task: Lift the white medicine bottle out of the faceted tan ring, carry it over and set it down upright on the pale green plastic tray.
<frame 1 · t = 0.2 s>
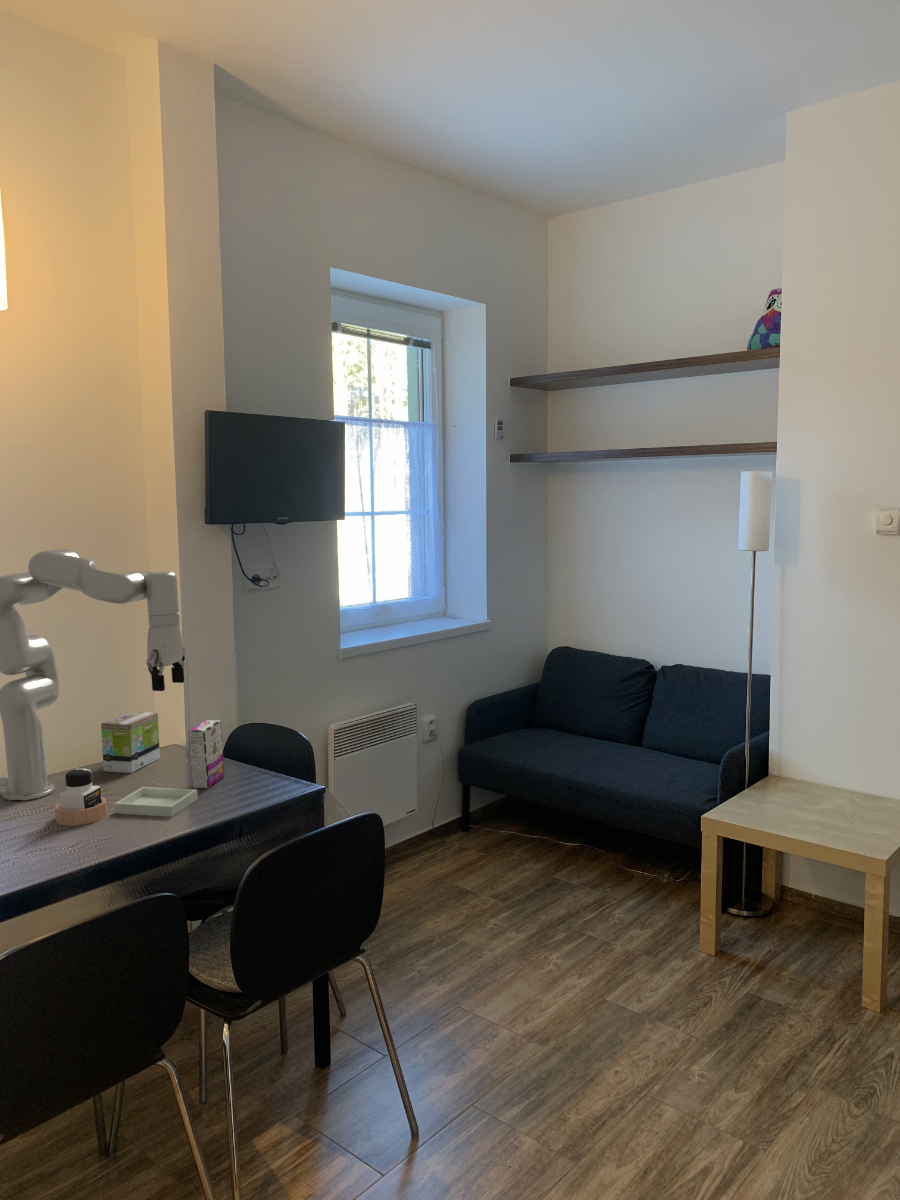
hand: (168, 686, 232), 31 cm above the table, tool pointing down, fingers open, 9 cm apart
faceted tan ring: (81, 816, 227), on the table
candy bar box: (208, 783, 252), on the table
medicine bottle: (81, 817, 227), resting in faceted tan ring
tea box: (132, 765, 270), on the table
tray: (157, 806, 233), on the table
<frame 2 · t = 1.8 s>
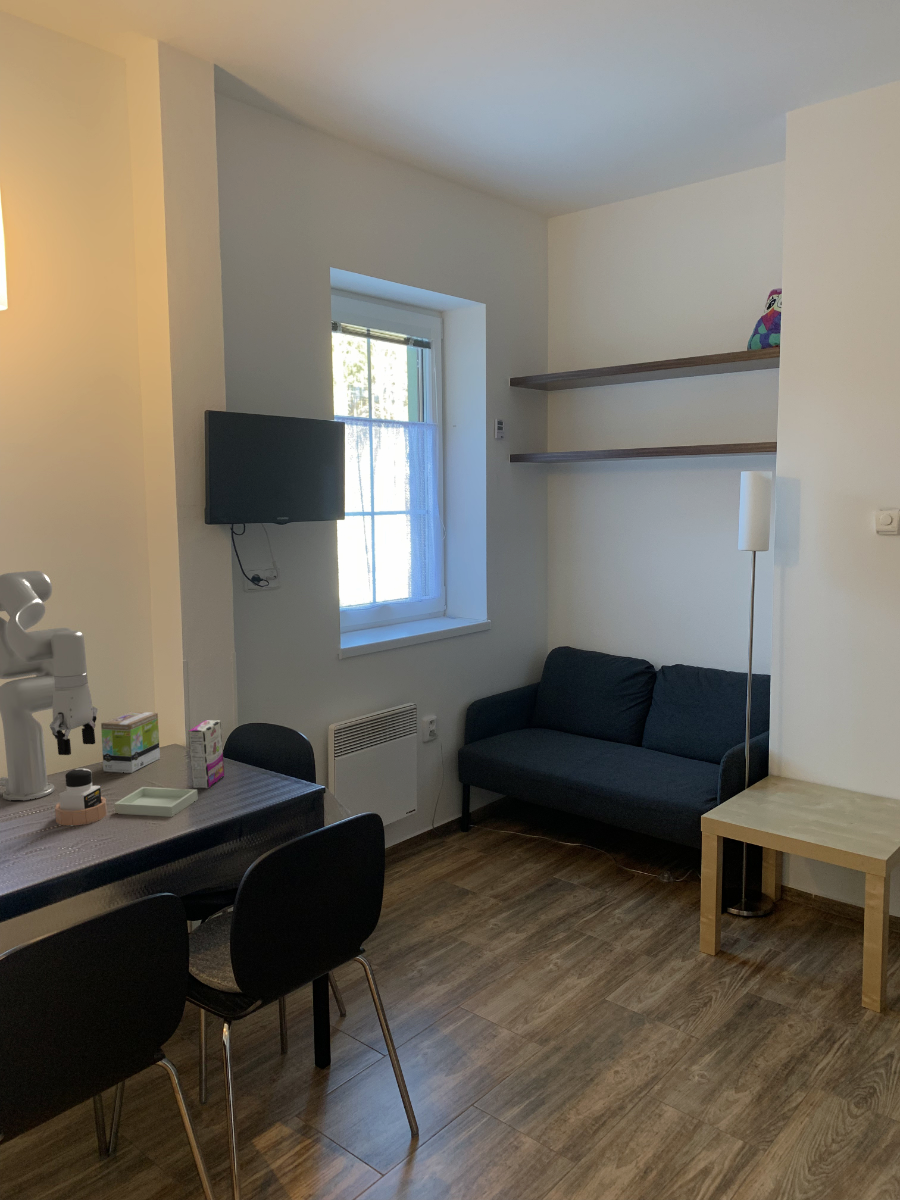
hand: (77, 749, 225), 18 cm above the table, tool pointing down, fingers open, 9 cm apart
nothing on the table moved.
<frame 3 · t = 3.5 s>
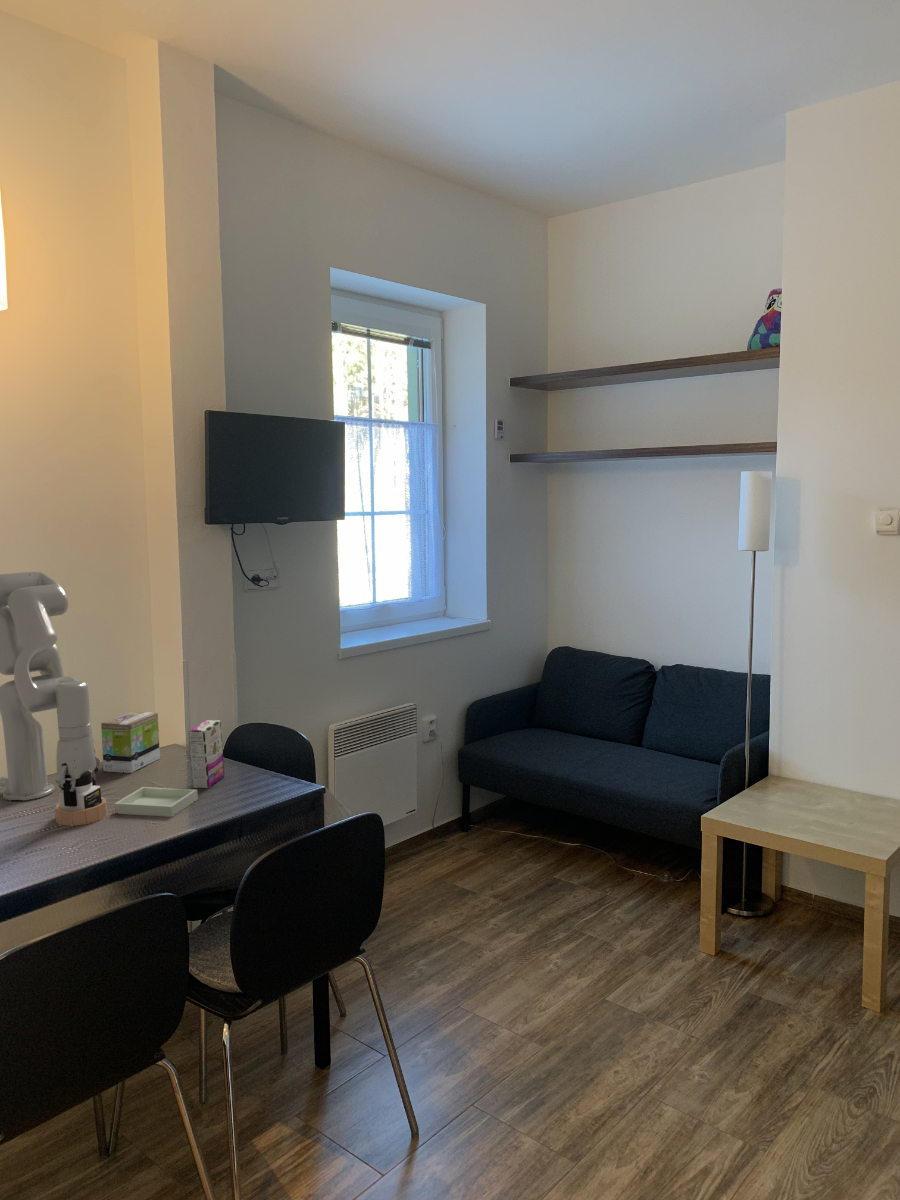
hand: (80, 800, 226), 4 cm above the table, tool pointing down, fingers closed on medicine bottle, 7 cm apart
medicine bottle: (82, 817, 227), resting in faceted tan ring, touching gripper
everything else where it was.
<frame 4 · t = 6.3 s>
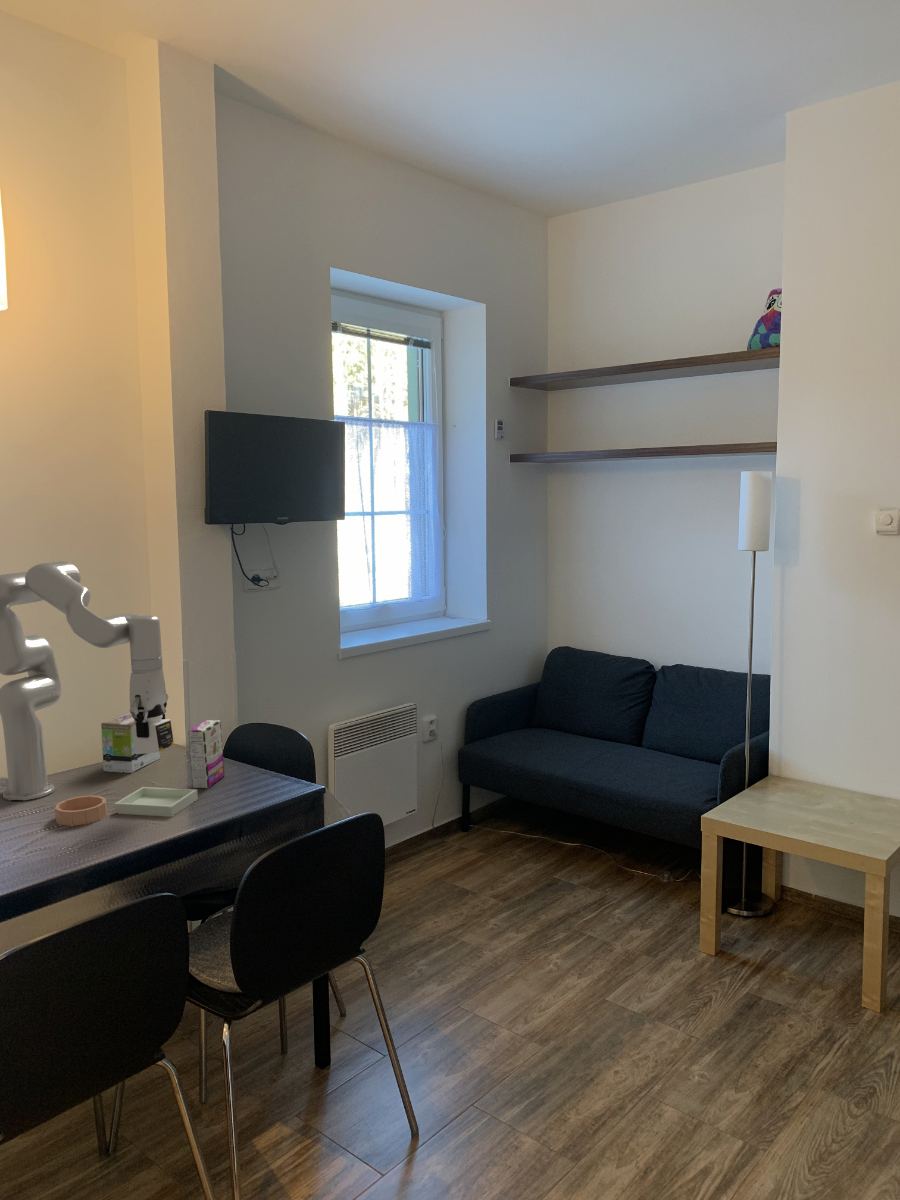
hand: (151, 732, 231), 19 cm above the table, tool pointing down, fingers closed on medicine bottle, 7 cm apart
medicine bottle: (155, 751, 231), point 15 cm above the table, touching gripper
everything else where it was.
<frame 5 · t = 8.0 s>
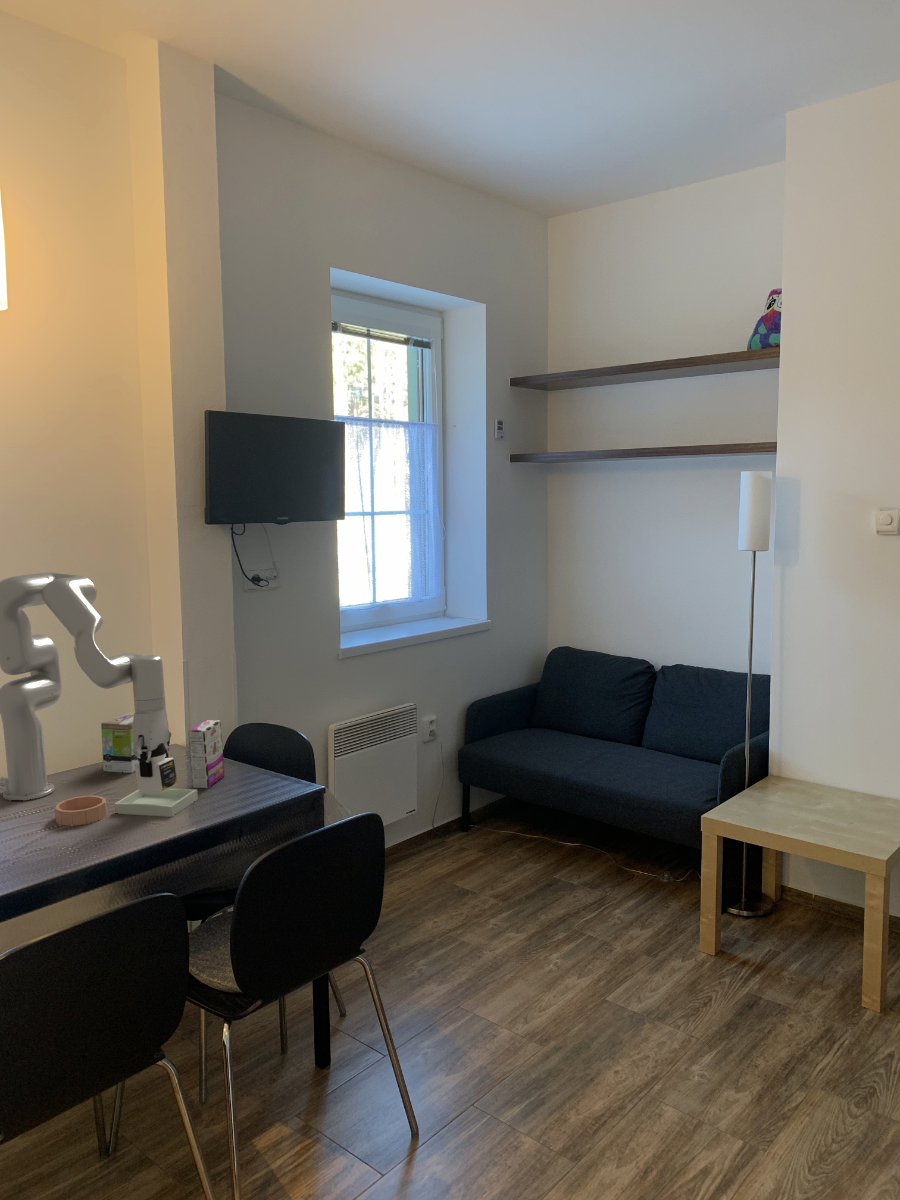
hand: (154, 771, 232), 9 cm above the table, tool pointing down, fingers closed on medicine bottle, 7 cm apart
medicine bottle: (158, 789, 232), point 5 cm above the table, touching gripper
everything else where it was.
when the fingers open (6 cm above the table, at t = 9.2 s): medicine bottle drops 1 cm, resting on tray.
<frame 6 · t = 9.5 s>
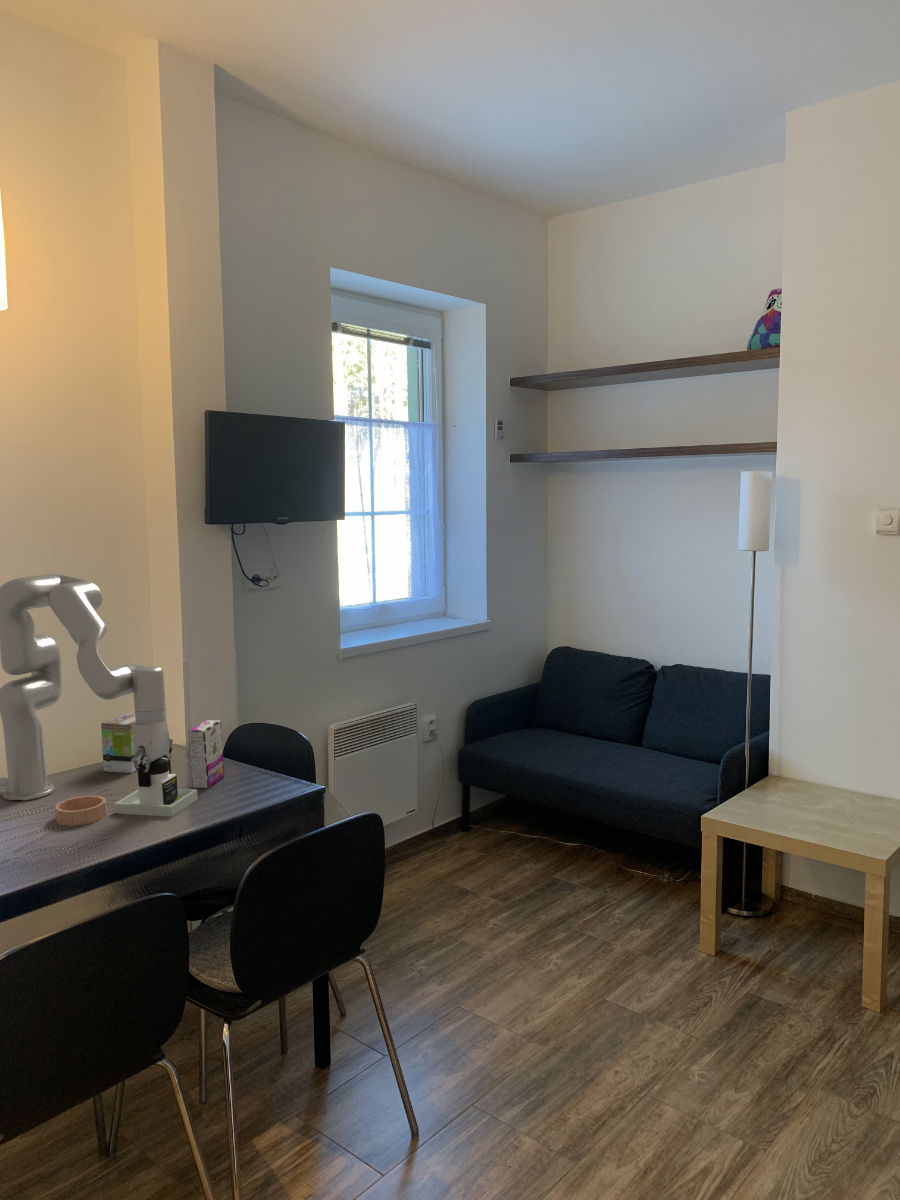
hand: (155, 780, 232), 7 cm above the table, tool pointing down, fingers open, 9 cm apart
medicine bottle: (159, 805, 233), resting on tray
everything else where it was.
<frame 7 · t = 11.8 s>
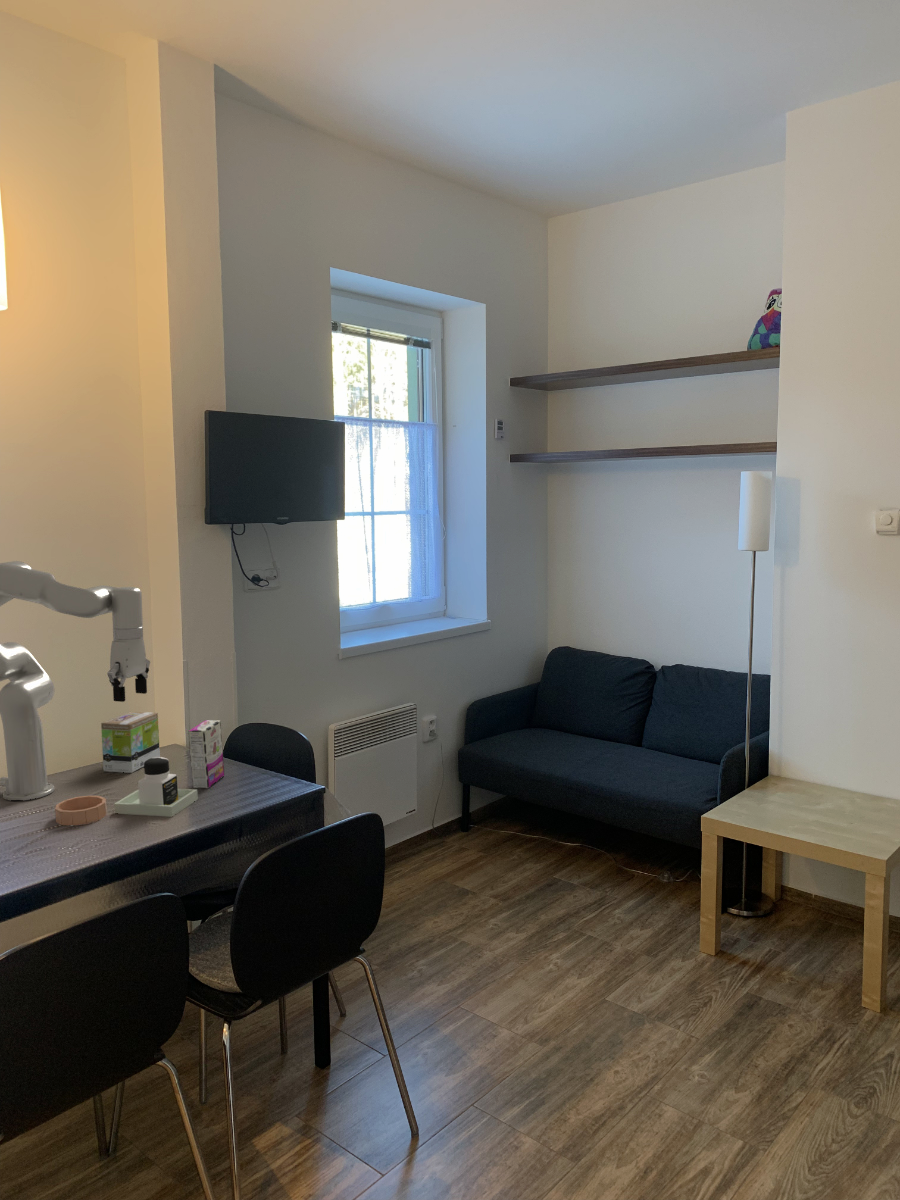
hand: (130, 697, 242), 26 cm above the table, tool pointing down, fingers open, 9 cm apart
nothing on the table moved.
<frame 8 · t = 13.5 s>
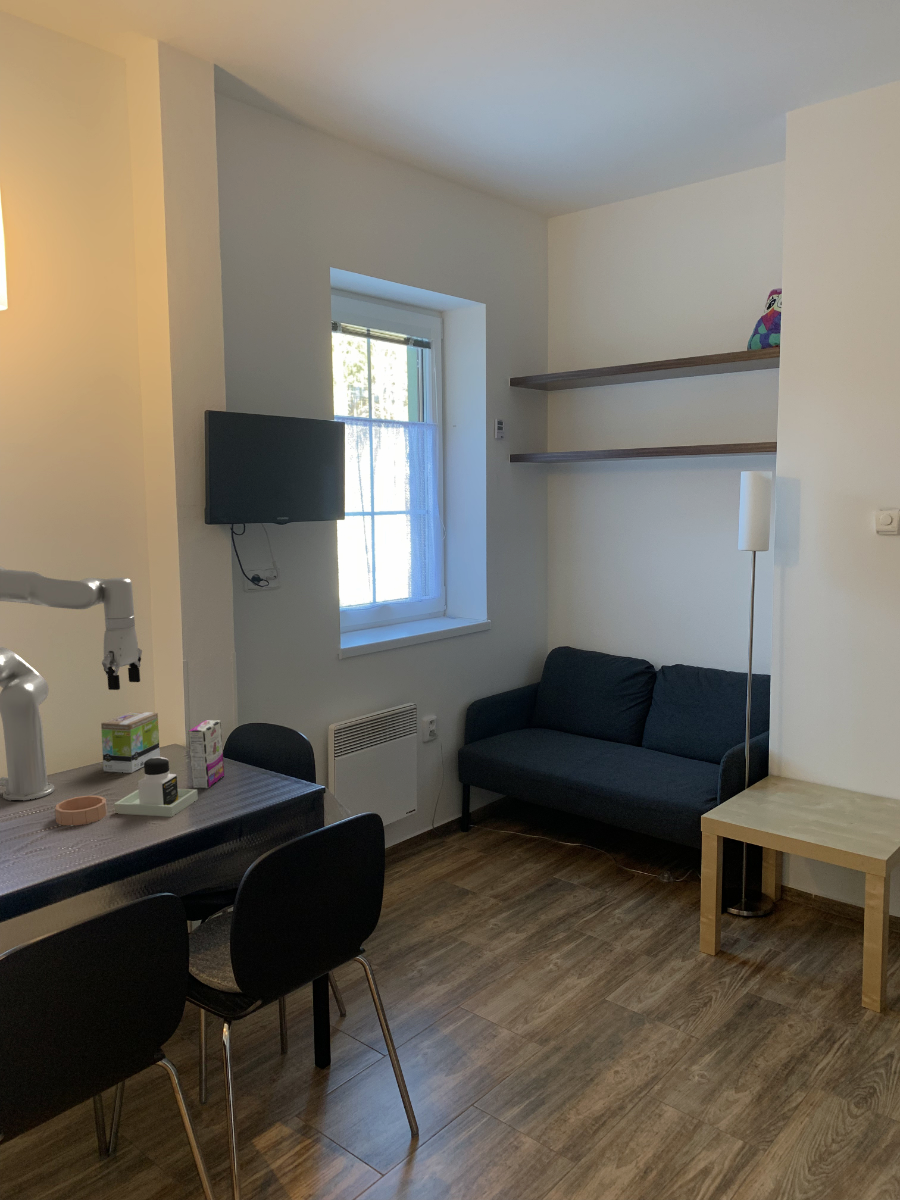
hand: (124, 685, 247), 28 cm above the table, tool pointing down, fingers open, 9 cm apart
nothing on the table moved.
at the end: medicine bottle inside the target area on the tray (0.8 cm from its centre), point 0.4 cm above the tray's base; medicine bottle tilted 0°; the gripper is holding nothing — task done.
